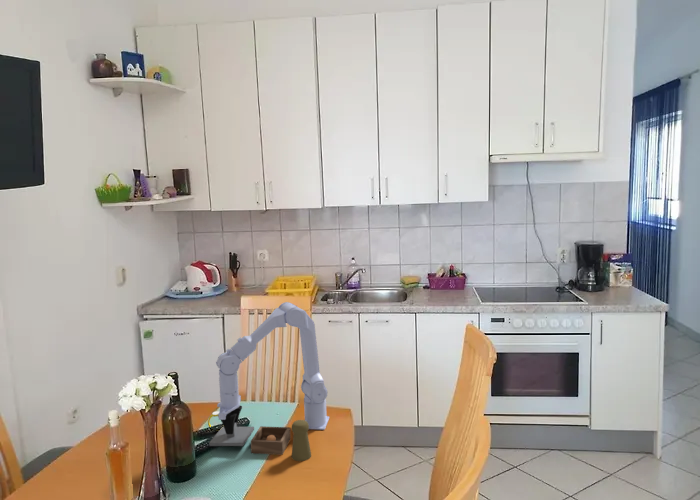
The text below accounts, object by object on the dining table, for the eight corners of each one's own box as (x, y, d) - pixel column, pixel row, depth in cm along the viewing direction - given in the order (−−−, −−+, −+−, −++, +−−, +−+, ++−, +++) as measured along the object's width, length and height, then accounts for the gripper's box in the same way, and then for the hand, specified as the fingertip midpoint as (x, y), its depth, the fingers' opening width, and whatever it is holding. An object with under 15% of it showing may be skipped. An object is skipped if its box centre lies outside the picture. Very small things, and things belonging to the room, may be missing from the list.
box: (261, 437, 174) (260, 426, 173) (290, 439, 172) (290, 427, 172) (251, 453, 164) (250, 441, 163) (282, 454, 162) (282, 442, 162)
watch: (208, 432, 179) (206, 416, 178) (209, 428, 182) (207, 412, 181) (226, 429, 180) (224, 413, 179) (227, 426, 183) (225, 409, 182)
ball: (268, 441, 170) (267, 432, 169) (277, 442, 169) (276, 433, 169) (265, 446, 167) (264, 437, 166) (274, 446, 166) (274, 437, 166)
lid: (222, 429, 176) (221, 416, 175) (254, 429, 174) (253, 416, 174) (209, 445, 165) (207, 432, 164) (243, 445, 163) (241, 432, 163)
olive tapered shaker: (308, 461, 158) (306, 426, 156) (288, 460, 159) (287, 425, 158) (313, 451, 164) (312, 418, 162) (294, 450, 165) (293, 416, 164)
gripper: (225, 382, 175) (227, 420, 177) (207, 399, 161) (210, 441, 163) (245, 382, 174) (248, 421, 176) (230, 400, 160) (232, 442, 162)
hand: (231, 431), depth 169 cm, fingers closed on lid, 3 cm apart
